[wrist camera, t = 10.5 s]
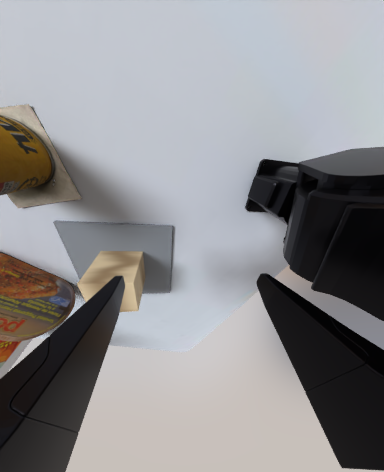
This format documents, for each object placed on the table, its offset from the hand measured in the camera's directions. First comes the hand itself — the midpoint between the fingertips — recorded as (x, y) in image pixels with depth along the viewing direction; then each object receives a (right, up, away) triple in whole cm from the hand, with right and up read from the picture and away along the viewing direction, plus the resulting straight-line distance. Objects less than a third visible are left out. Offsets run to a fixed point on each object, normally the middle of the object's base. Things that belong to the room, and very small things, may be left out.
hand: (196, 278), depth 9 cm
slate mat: (-11, -2, +14) cm, 18 cm away
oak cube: (-11, -2, +14) cm, 18 cm away
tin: (-25, -3, +13) cm, 29 cm away
